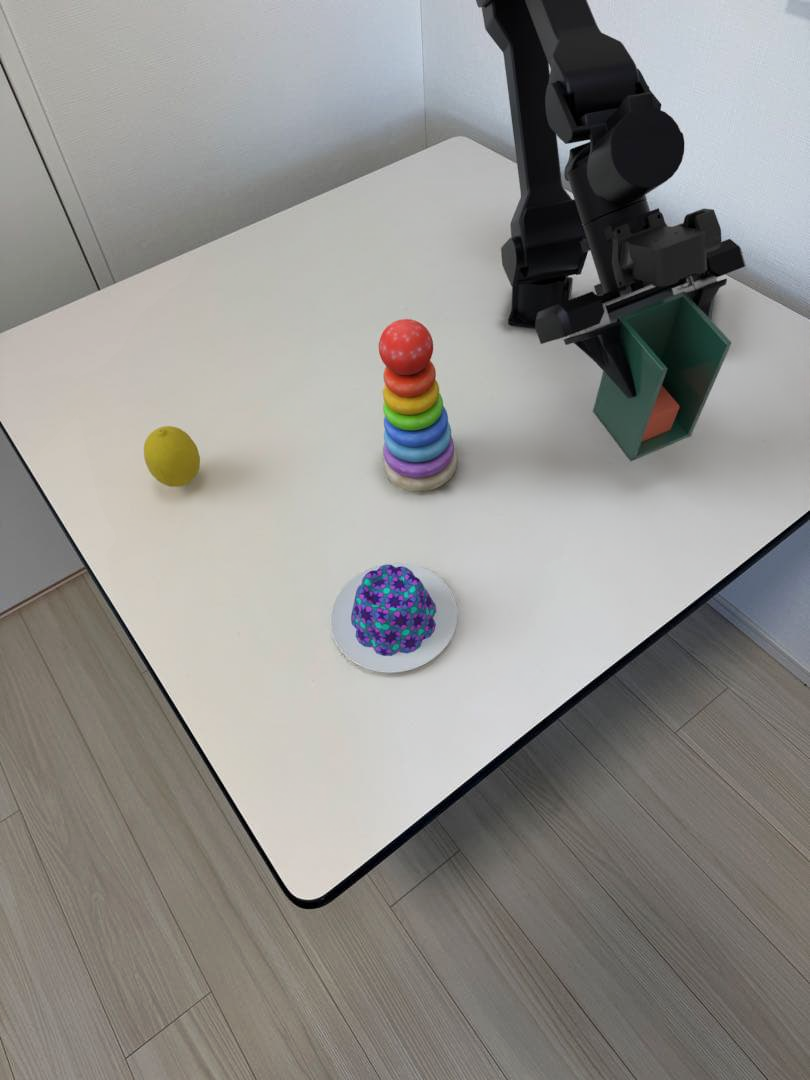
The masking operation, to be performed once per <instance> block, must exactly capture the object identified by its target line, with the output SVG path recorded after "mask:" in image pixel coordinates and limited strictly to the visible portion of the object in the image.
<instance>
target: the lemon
mask: <svg viewBox="0 0 810 1080" xmlns="http://www.w3.org/2000/svg"><path fill="white" fill-rule="evenodd" d="M143 458H144V462H145V465H146V468H147V469H148V472H149V473H150V474H151V475H152V477H153V478H154V479H155V480H156V481H157V482H159V483H160V484H162V485H164V486H167V487H172V488H178V487H183V486H186V485H188V484H189V483H191V482H192V481H193V480H194V479H195V478H196V477H197V475H198V473H199V470H200V466H201V456H200V452H199V449H198V446H197V444H196V442H194V440H193V439H192V437H191V436H190V435H189V434H188V433H187V432H185V430H183V429H181V428H179V427H177V426H172V425H171V426H170V425H165V426H161V427H157V428H155V429H153V431H151V432H150V433H149V434H148V435H147V437H146V439H145V441H144V444H143Z"/></svg>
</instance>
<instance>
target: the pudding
mask: <svg viewBox="0 0 810 1080" xmlns="http://www.w3.org/2000/svg"><path fill="white" fill-rule="evenodd" d="M458 614H459V613H458V605H457V602H456V599H455V596H454V593H453V591H452V590H451V588H450V586H448V584H447V583H446V582H445V580H444V579H442V578H441V577H440V576H439V575H438V574H436V573H434V572H433V571H431V570H429V569H428V568H425V567H422V566H420V565H418V564H412V563H409V562H408V563H407V562H389V563H388V562H387V563H383V564H382V563H381V564H377V565H375V566H372V567H370V568H366V569H364V570H363V571H361V572H359V573H357V574H356V575H355V576H354V577H353V576H352V578H351V579H350V580H349V581H348V582H346V583H345V585H344V586H343V587H342V588H341V589H340V591H339V592H338V594H337V595H336V597H335V599H334V601H333V604H332V606H331V611H330V617H329V618H330V621H329V623H330V624H329V626H330V631H331V635H332V638H333V640H334V642H335V644H336V646H337V647H338V649H339V651H340V652H341V653H342V654H343V655H344V656H345V657H346V658H347V659H348V660H350V661H352V662H353V663H355V665H358V666H360V667H362V668H364V669H366V670H370V671H374V672H377V673H378V672H379V673H388V674H389V673H403V672H406V671H410V670H411V671H412V670H414V669H417V668H419V667H421V666H424V665H426V664H428V663H430V661H432V660H434V659H435V658H436V657H437V656H438V655H440V654H441V653H442V652H443V650H444V649H446V647H447V646H448V645H449V643H450V642H451V640H452V638H453V636H454V634H455V630H456V629H457V624H458V617H459V615H458Z"/></svg>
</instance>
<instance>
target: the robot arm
mask: <svg viewBox="0 0 810 1080" xmlns="http://www.w3.org/2000/svg"><path fill="white" fill-rule="evenodd" d="M475 2H476V5H477V7H478V8H479V9H480V8H481V13H482V19H483V25H484V29H485V31H486V33H488V35H489V37H490V38H491V39H492V41H493V42H494V43H495V45H497V47H498V48H499V50H500V51H501V52H502V55H503V63H504V69H505V78H506V86H507V92H508V93H507V94H508V102H509V109H510V117H511V127H512V134H513V141H514V142H513V143H514V149H515V158H516V167H517V175H518V181H519V182H518V183H519V190H520V198H519V200H518V203H517V206H516V209H515V211H514V213H513V216H512V218H511V221H510V227H509V228H510V237H509V238H508V239H507V241H506V242H505V243H504V244H503V245H502V246H501V247H500V251H501V252H500V253H501V254H500V255H501V265H502V269H503V270H504V273H505V275H506V277H507V279H508V281H509V284H510V286H511V310H510V313H509V316H508V318H507V324H508V325H509V326H514V327H523V328H530V329H535V331H536V334H537V337H538V340H539V343H540V345H542V344H545V343H549V342H552V341H556V340H559V339H562V338H565V339H563V342H564V344H565V345H571V344H574V345H575V346H576V347H578V349H580V350H581V351H582V352H583V353H584V354H585V355H587V356H588V357H589V358H590V359H591V360H592V361H593V362H594V363H596V365H597V366H598V367H599V368H600V369H601V370H602V372H603V371H604V372H605V373H606V374H607V375H608V377H609V378H610V379H611V380H612V381H613V382H614V383H615V384H616V385H617V387H618V388H619V389H620V390H621V391H622V392H623V393H624V394H625V396H626V397H628V398H633V397H635V396H636V390H635V385H634V381H633V377H632V375H631V372H630V369H629V366H628V363H627V360H626V357H625V354H624V351H623V348H622V345H621V343H620V328H621V320H620V321H617V322H613V323H611V321H610V318H609V315H608V313H611V312H613V311H616V310H618V309H621V308H623V307H626V306H629V305H631V304H634V303H636V302H639V301H641V300H644V299H646V298H649V297H652V296H654V295H657V294H659V293H662V292H664V291H667V290H670V289H672V291H673V295H676V294H678V293H681V292H685V293H686V294H687V295H688V296H689V297H690V298H691V299H692V300H693V301H694V303H695V304H696V305H697V306H698V307H699V308H700V309H701V310H702V311H703V312H704V313H705V314H706V316H707V317H709V311H710V306H711V303H712V301H713V299H714V300H715V297H716V295H717V293H718V291H719V290H720V288H722V287H725V286H726V285H727V282H728V278H723V279H720V280H718V278H720V277H722V276H724V275H728V274H729V273H732V272H736V271H737V270H740V269H743V268H745V267H746V265H747V264H746V261H745V258H744V255H743V250H742V248H741V247H740V245H738V244H737V243H736V242H735V241H733V240H732V239H731V238H728V239H725V240H723V241H722V228H721V225H720V223H719V220H718V218H717V214H716V212H715V209H713V208H700V209H698V210H696V211H693V212H689V213H688V214H686V215H685V216H684V219H683V223H679V224H676V225H674V226H670V225H669V226H668V225H667V223H666V221H665V218H664V214H663V213H662V212H661V211H660V208H659V207H658V208H655V209H653V210H651V209H650V206H649V203H648V199H647V196H646V195H647V194H649V193H651V192H652V191H654V190H655V189H657V188H658V187H660V186H661V185H663V184H664V183H666V182H668V180H671V178H672V177H673V176H674V175H675V173H677V171H678V170H679V168H680V166H681V164H682V162H683V159H684V155H685V154H684V153H685V138H684V133H683V132H682V131H681V129H680V126H679V124H678V123H677V121H675V119H674V118H673V117H672V116H671V115H669V114H668V113H667V112H666V111H664V110H662V103H661V102H660V100H659V99H658V98H657V97H656V96H655V94H654V93H653V92H652V91H651V89H650V86H649V85H648V82H647V81H646V80H645V78H644V75H643V74H642V71H641V70H640V69H639V68H638V66H637V64H636V63H635V60H634V59H633V58H632V55H630V53H629V51H628V50H627V48H626V46H625V45H624V44H623V42H622V41H620V40H618V39H616V38H614V37H613V36H610V35H608V34H605V33H603V32H602V31H601V29H600V28H599V26H598V24H597V21H596V19H595V17H594V14H593V12H592V9H591V7H590V5H589V2H588V0H475ZM558 138H559V140H561V141H562V142H563V143H564V144H565V145H569V144H575V143H579V142H585V141H588V142H585V143H582V144H580V145H577V146H575V147H572V148H570V149H569V155H568V156H569V157H568V160H567V163H566V164H565V167H564V170H563V173H564V174H563V176H564V180H565V181H566V182H568V184H569V186H570V190H571V193H572V195H573V199H572V197H571V196H570V195H569V193H568V192H567V191H566V190H565V188H564V187H563V182H562V172H561V165H560V163H561V162H560V154H559V145H558ZM589 251H590V254H591V257H592V260H593V264H594V267H595V270H596V272H597V276H598V279H599V283H598V284H595V285H593V288H594V291H595V292H594V291H593V290H592V291H590V292H587V293H584V294H581V295H579V296H576V297H573V298H572V296H573V295H572V293H573V285H574V279H573V277H571V276H575V275H576V276H579V275H582V272H583V269H584V266H585V264H586V259H587V257H588V253H589ZM716 277H717V278H716ZM643 281H645V282H650V283H651V284H650V285H648V286H645V287H644V285H643ZM627 285H629V287H630V291H631V292H630V293H627V294H624V295H622V296H620V293H619V292H621V291H623V290H626V289H627V288H626V286H627ZM648 289H649V290H648ZM643 291H644V292H643ZM630 296H631V297H630ZM625 298H626V299H625ZM568 336H569V337H568ZM566 337H567V338H566Z"/></svg>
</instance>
